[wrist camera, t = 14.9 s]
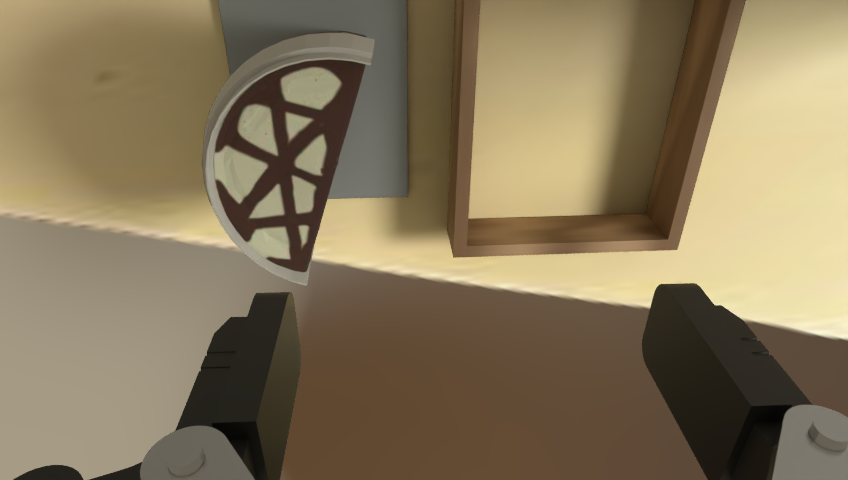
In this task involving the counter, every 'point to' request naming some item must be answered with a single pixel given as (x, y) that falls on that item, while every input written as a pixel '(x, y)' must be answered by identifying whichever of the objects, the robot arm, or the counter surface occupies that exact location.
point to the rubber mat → (379, 90)
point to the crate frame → (674, 171)
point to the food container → (282, 145)
